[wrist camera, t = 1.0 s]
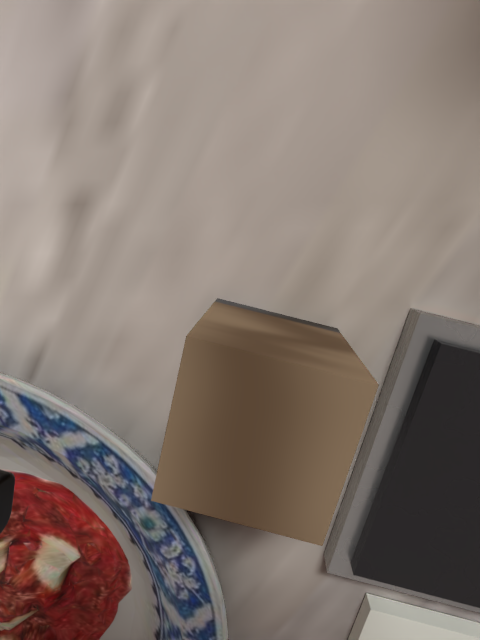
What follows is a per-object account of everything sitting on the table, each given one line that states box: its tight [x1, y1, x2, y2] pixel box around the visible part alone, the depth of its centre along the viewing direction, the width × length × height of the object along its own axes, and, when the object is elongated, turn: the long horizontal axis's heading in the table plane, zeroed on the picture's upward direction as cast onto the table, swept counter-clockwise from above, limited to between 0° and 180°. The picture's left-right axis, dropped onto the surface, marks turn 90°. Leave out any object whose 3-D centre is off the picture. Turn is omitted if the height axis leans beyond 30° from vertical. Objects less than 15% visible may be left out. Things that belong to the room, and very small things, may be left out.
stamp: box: [151, 298, 379, 546], centre depth 13 cm, size 5×5×6 cm
